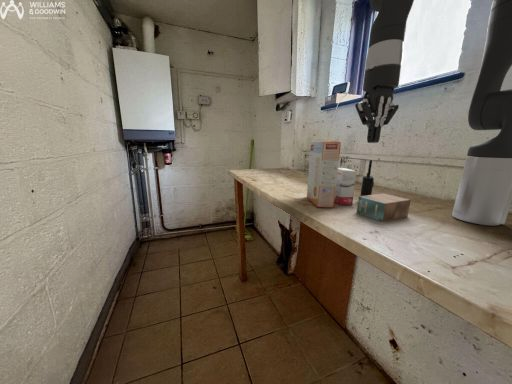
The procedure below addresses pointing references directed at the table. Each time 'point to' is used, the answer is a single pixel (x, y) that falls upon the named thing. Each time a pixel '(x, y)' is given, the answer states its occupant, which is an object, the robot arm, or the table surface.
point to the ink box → (345, 186)
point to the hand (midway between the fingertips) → (372, 142)
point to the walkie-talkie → (367, 182)
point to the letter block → (383, 206)
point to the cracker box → (323, 173)
